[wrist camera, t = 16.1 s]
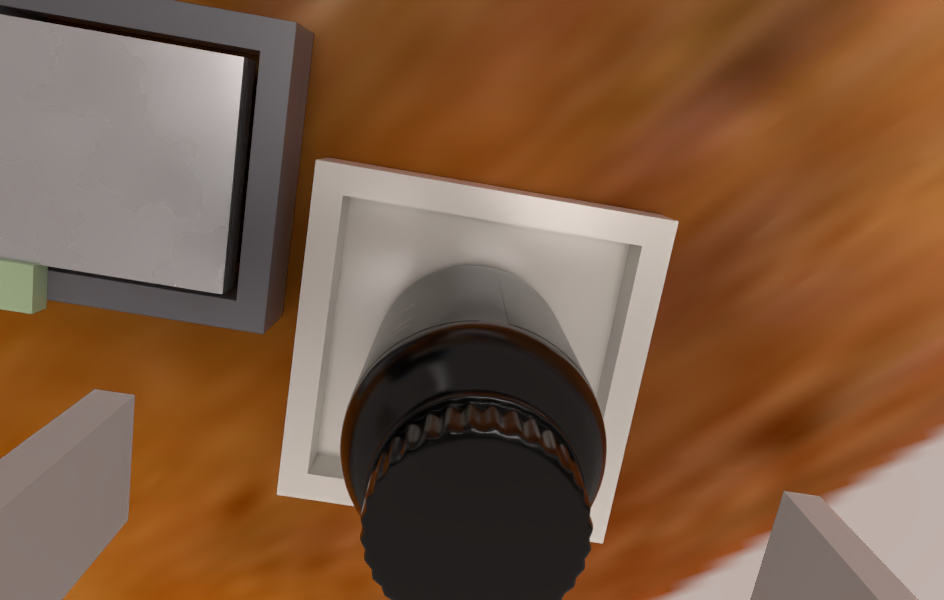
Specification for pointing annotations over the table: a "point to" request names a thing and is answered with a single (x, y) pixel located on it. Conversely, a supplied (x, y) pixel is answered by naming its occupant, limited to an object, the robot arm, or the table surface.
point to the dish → (453, 244)
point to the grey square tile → (122, 155)
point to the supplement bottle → (473, 444)
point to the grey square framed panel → (269, 181)
